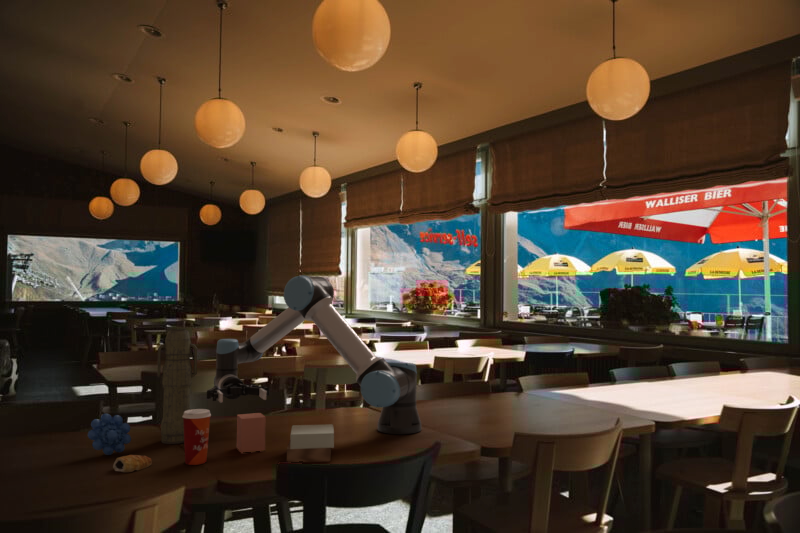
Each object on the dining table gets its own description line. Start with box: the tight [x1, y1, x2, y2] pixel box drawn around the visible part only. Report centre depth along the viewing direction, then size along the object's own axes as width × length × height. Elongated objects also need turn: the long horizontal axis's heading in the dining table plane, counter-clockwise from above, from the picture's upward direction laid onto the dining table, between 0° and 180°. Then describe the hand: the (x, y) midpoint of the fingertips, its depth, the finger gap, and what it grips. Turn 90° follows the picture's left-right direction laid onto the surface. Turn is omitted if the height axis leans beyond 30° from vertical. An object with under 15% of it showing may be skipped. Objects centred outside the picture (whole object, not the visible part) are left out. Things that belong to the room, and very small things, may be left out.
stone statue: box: [156, 328, 198, 445], centre depth 194 cm, size 9×12×35 cm
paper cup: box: [182, 408, 212, 466], centre depth 169 cm, size 8×8×14 cm
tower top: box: [290, 423, 335, 449], centre depth 176 cm, size 12×12×4 cm
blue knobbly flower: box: [87, 412, 132, 456], centre depth 175 cm, size 12×7×12 cm, turn 128°
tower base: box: [286, 438, 332, 463], centre depth 176 cm, size 12×12×4 cm
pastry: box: [112, 454, 153, 473], centre depth 163 cm, size 9×7×4 cm
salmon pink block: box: [236, 412, 267, 454], centre depth 183 cm, size 7×7×10 cm
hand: (243, 396), depth 193 cm, fingers open, 13 cm apart
